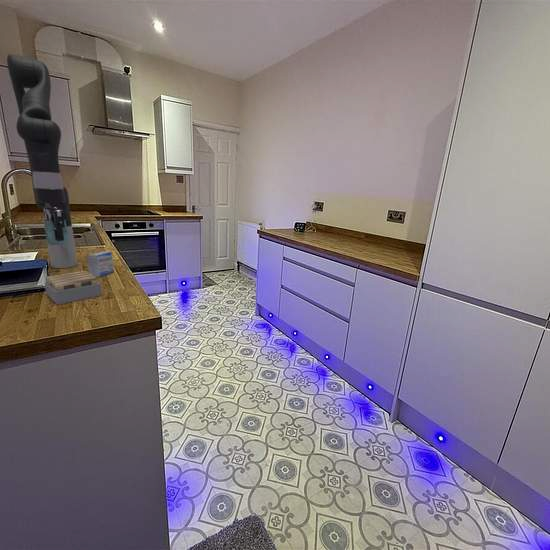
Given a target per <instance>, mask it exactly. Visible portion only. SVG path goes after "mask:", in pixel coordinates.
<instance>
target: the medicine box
mask: <svg viewBox="0 0 550 550" xmlns="http://www.w3.org/2000/svg"><path fill="white" fill-rule="evenodd" d="M112 253H113V252H112V251H106V250H102V251H98V252H95V253H90V254H87V263H88V270H89V273H90V274H92V275H94V276H95V277H97V278H100V277H103V275H104V276H106V274H107V275H109V273H110V274H112V273H114V272H115V271H114V270H115V269H114V262H113V254H112Z"/></svg>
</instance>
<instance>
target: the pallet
mask: <svg viewBox="0 0 550 550" xmlns="http://www.w3.org/2000/svg"><path fill="white" fill-rule="evenodd" d="M45 280H46V282H48V283H49V284H50V285H51V286H52V287H53V288H54V289H56V290H57V291H61V290H64V287H63V286H66V285H72V286H73V287H75V288H78V287H81V283H83V282H88V283H90V284H91V285H94V284H97V282H98V277H96V276H94V275H92V274H90V272H88V271H86V270H82V271H75V272H69V273H62V274H56V275H50V276H49V275H48V276H45Z"/></svg>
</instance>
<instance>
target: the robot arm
mask: <svg viewBox="0 0 550 550" xmlns="http://www.w3.org/2000/svg"><path fill="white" fill-rule="evenodd" d="M6 63H7V69H8V73H9V77H10V82H11V85H12V88H13V89H12V90H13V92H14V97H15V101H16V104H17V110H18V114H19V116H18V118H17V121H16V131H17V134H18V136H19V137H20V138H21V139H22V140H23V142H24V146H25V150H26V154H27V159H28V163H29V167H30V175H31V182H32V191H33V196H34V201H35V204H36V206H37V207H38V208H40V209H42V211H43V216H44V219H49V220H50V222H52V223H53V229H54V232H55V238H56V240H57V241H63V240H64V235H63V228H65V224H64V220H66V226H67V233H68V239H69V244H61V245H50V244H48V243H47V242H46V244H47V248H48V254H49V260H50V266H51V268H54V269H67V268H74V267H76V266H78V258H77V251H76V244H75V243H76V242H75V238H74V231H73V225H72V218H71V217H72V216H71V208H70V199H69V198H70V197H69V192H68V189H67V188H66V186H64V184H63V183H64V182H63V179H62V175H61V169H60V163H59V150H60V145H61V138H62V131H61V128H60V126H59V125H58V124H57V123H56V122H55V121H54V120H52V113H51V106H50V100H51V89H52V88H51V87H52V85H51V76H50V71H49V69H48V67H47V65H46V64H45V63H44V62H43V61H41V60H38V59H36V58H31V57H30V58H29V57H25V56H21V55H17V54H13V53H12V54H8V55H7V58H6ZM25 89H29V90H27V91H26V90H25ZM53 219H54V220H53ZM57 222H59V223H60V224H57Z"/></svg>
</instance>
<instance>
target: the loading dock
mask: <svg viewBox="0 0 550 550" xmlns="http://www.w3.org/2000/svg"><path fill="white" fill-rule="evenodd" d="M44 286H45V287H44V288H45V294H46V295H47V296H48V297H49V298H50V300H52V301H53V302H54V304H56V305H57V306H58V305H63V304H67V303H68V304H69V303H73V302H77V301H78V302H79V301H81V300H82V301H83V300H86V299H92V298H96V297H101V296H102V295H103V293H102V287H101V283H100V282H98V281H97V284H94V285H91V284H90V283H88V282H83V283H81V287H78V288H75V287H73V286H72V285H66V286H63V287H64V290H61V291H57V290H56V289H54V288H53V287H52V286H51V285H50V284H49V283H48V282H47V281H46V282H45V281H44Z"/></svg>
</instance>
